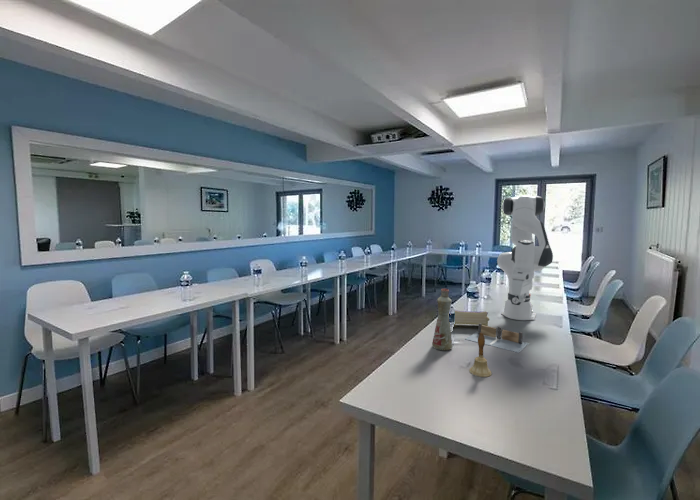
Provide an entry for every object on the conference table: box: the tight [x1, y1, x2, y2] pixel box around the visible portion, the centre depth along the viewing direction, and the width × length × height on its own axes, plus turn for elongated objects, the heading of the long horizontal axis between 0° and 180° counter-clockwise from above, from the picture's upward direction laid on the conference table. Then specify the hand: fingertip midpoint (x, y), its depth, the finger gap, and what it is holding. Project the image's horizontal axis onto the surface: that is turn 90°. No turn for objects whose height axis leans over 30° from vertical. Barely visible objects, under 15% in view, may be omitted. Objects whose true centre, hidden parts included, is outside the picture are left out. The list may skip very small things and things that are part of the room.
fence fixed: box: [477, 323, 502, 339], centre depth 181 cm, size 2×11×6 cm, turn 49°
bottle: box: [431, 288, 453, 352], centre depth 164 cm, size 9×9×28 cm
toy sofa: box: [454, 309, 490, 327], centre depth 196 cm, size 21×9×10 cm, turn 86°
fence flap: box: [501, 329, 523, 344], centre depth 174 cm, size 9×2×5 cm, turn 48°
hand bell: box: [468, 332, 492, 378], centre depth 140 cm, size 8×8×16 cm
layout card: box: [465, 331, 530, 354], centre depth 174 cm, size 15×25×1 cm, turn 48°
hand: (521, 301), depth 175 cm, fingers closed
